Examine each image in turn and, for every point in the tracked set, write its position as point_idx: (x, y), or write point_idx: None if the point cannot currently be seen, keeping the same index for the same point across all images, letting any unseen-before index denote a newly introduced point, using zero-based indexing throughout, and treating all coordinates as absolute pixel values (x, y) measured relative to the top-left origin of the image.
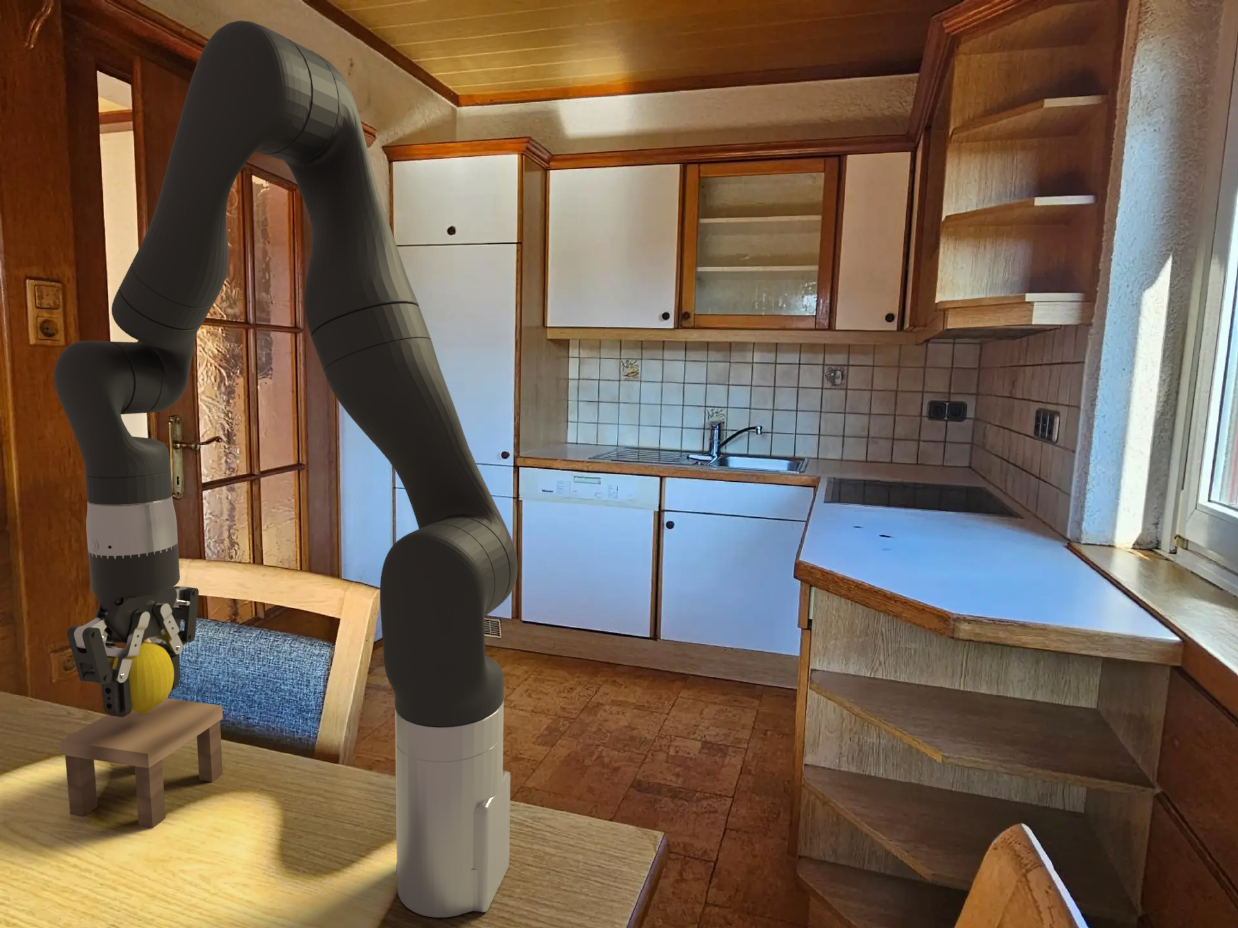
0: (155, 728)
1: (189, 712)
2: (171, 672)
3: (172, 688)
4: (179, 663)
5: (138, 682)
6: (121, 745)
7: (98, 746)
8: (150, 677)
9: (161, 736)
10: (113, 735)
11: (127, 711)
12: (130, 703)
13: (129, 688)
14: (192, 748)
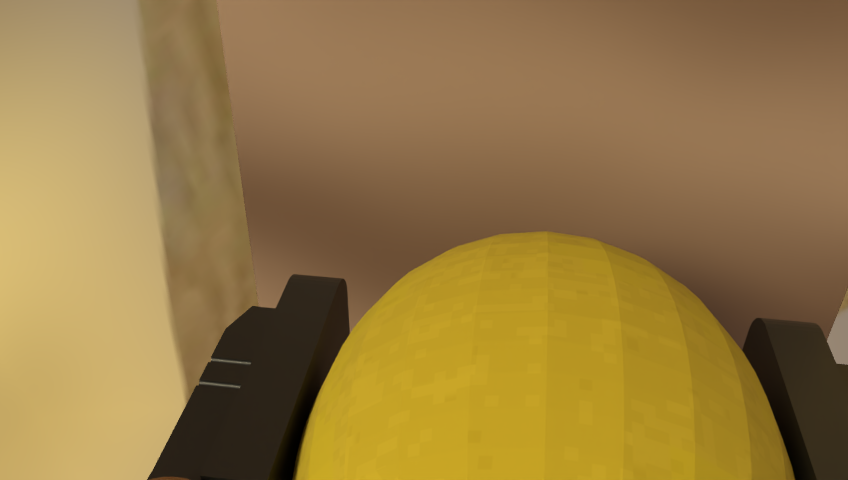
0: (604, 151)
1: (361, 88)
2: (446, 346)
3: (343, 285)
4: (191, 404)
5: (777, 468)
6: (832, 202)
7: (838, 306)
8: (713, 431)
9: (712, 40)
10: (709, 310)
11: (801, 333)
12: (779, 366)
13: (824, 473)
14: (225, 125)
